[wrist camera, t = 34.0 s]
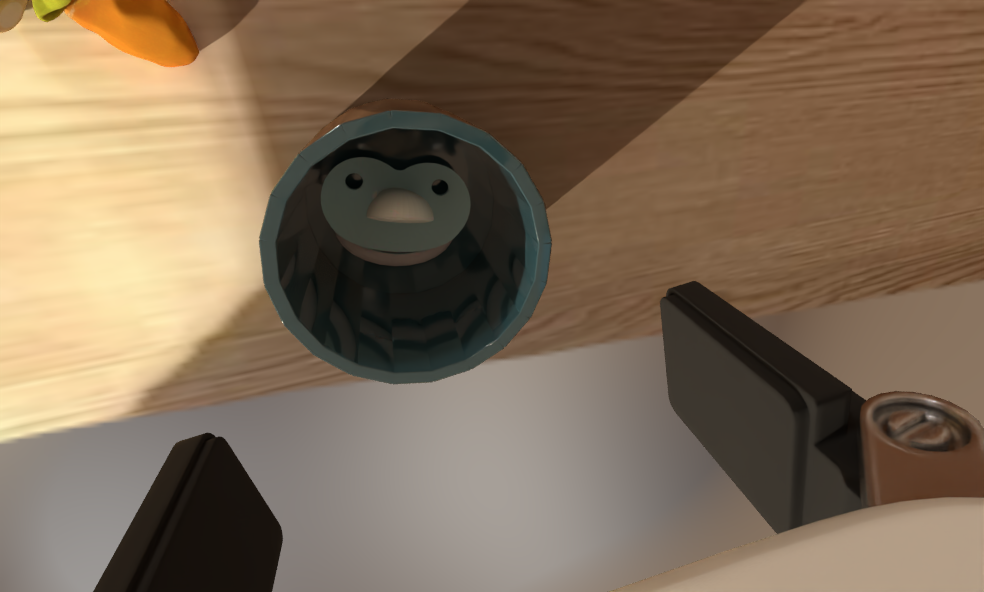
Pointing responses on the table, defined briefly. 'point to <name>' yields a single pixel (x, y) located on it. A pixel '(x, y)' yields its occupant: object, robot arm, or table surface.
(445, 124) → the cup
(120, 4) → the rattle
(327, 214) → the pacifier
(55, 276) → the table surface
